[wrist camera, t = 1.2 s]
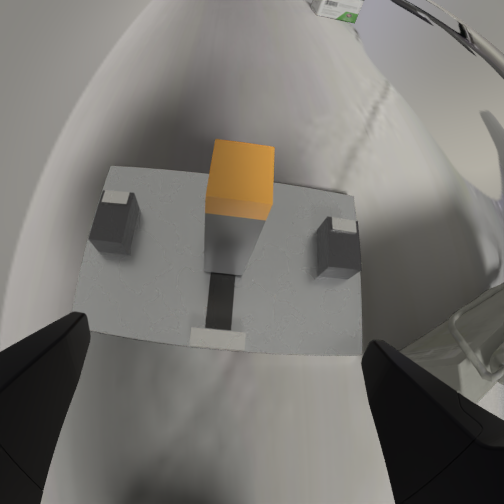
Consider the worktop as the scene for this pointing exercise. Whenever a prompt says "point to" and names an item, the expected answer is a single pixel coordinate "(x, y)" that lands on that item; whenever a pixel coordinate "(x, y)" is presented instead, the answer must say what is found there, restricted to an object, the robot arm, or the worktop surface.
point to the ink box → (338, 9)
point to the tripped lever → (236, 204)
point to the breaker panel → (220, 284)
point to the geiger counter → (466, 347)
